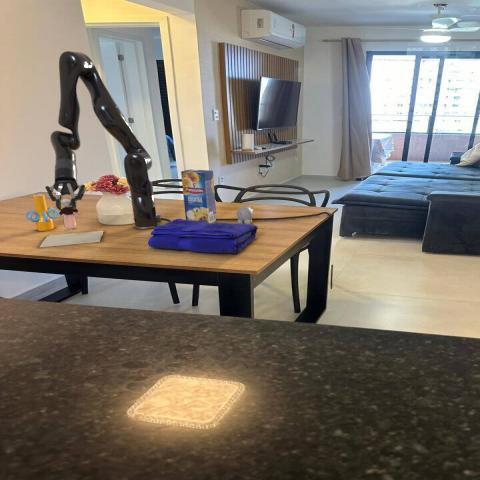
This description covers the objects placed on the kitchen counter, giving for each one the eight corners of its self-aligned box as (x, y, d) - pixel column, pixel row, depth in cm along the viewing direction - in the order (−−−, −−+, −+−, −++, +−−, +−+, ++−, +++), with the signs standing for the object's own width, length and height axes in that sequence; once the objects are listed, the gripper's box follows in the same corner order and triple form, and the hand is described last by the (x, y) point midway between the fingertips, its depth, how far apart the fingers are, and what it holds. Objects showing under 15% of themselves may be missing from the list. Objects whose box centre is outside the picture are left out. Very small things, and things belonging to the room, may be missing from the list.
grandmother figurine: (64, 232, 149) (58, 200, 144) (59, 230, 151) (53, 199, 146) (84, 227, 155) (79, 197, 151) (79, 226, 157) (73, 195, 152)
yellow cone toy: (43, 234, 159) (36, 199, 154) (22, 232, 160) (14, 197, 156) (67, 226, 170) (61, 193, 165) (47, 224, 172) (40, 191, 167)
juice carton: (216, 220, 183) (213, 170, 175) (208, 224, 176) (204, 173, 168) (194, 218, 186) (190, 169, 178) (185, 222, 179) (180, 171, 171)
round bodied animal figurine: (259, 220, 186) (259, 203, 183) (249, 227, 175) (248, 208, 172) (245, 218, 187) (245, 202, 184) (234, 225, 176) (233, 207, 173)
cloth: (103, 231, 164) (103, 230, 163) (100, 241, 152) (99, 240, 151) (48, 236, 156) (47, 235, 156) (39, 247, 144) (39, 246, 144)
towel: (181, 230, 168) (180, 210, 165) (259, 236, 162) (258, 216, 159) (146, 250, 143) (143, 228, 140) (236, 258, 138) (235, 235, 135)
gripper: (42, 167, 148) (41, 204, 142) (84, 166, 154) (85, 202, 147) (47, 178, 155) (47, 215, 148) (88, 177, 160) (89, 212, 154)
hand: (66, 208), depth 148 cm, fingers closed on grandmother figurine, 4 cm apart
